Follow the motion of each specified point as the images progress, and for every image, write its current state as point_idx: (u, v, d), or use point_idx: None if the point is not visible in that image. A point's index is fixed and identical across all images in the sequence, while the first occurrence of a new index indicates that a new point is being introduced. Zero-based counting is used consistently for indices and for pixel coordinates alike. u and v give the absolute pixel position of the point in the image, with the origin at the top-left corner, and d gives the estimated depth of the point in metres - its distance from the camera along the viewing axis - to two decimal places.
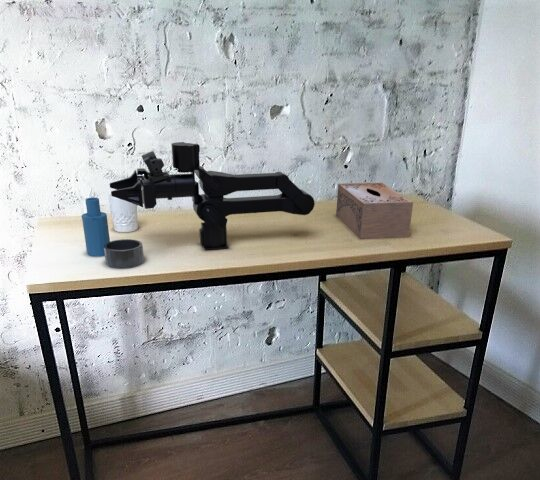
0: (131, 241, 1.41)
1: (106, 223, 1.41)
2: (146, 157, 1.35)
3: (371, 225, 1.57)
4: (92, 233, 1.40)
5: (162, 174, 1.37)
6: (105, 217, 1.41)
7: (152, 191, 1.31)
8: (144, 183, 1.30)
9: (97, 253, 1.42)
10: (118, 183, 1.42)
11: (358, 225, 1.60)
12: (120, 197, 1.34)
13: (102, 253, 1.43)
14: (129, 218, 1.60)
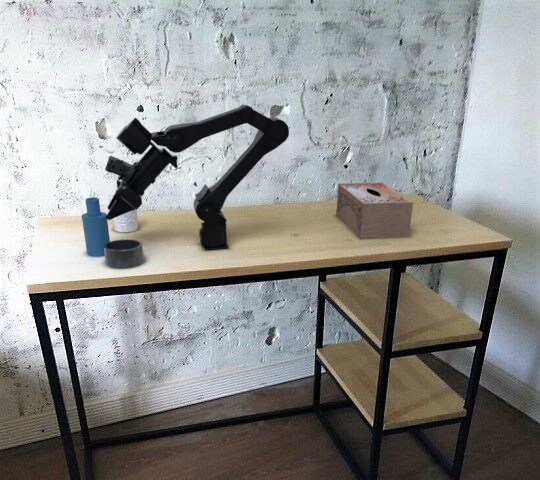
0: (131, 241, 1.41)
1: (106, 223, 1.41)
2: (107, 167, 1.35)
3: (371, 225, 1.57)
4: (92, 233, 1.40)
5: (130, 168, 1.36)
6: (105, 217, 1.41)
7: (128, 192, 1.31)
8: (118, 191, 1.31)
9: (97, 253, 1.42)
10: (112, 202, 1.45)
11: (358, 225, 1.60)
12: (116, 215, 1.37)
13: (102, 253, 1.43)
14: (129, 218, 1.60)
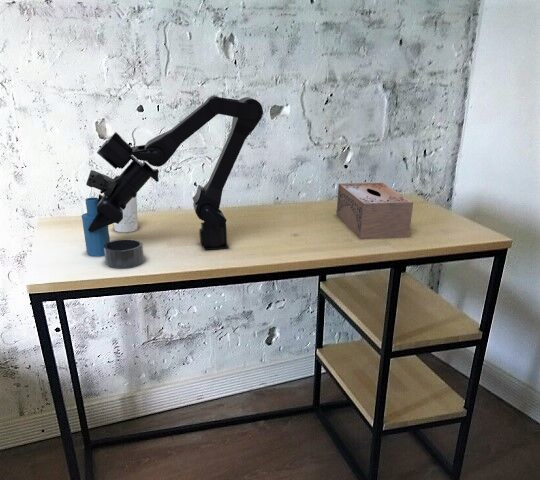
0: (131, 241, 1.41)
1: None
2: (88, 181, 1.35)
3: (371, 225, 1.57)
4: (92, 233, 1.40)
5: (111, 182, 1.36)
6: None
7: (109, 207, 1.32)
8: (98, 206, 1.32)
9: (97, 253, 1.42)
10: None
11: (358, 225, 1.60)
12: (97, 228, 1.39)
13: (102, 253, 1.43)
14: (129, 218, 1.60)
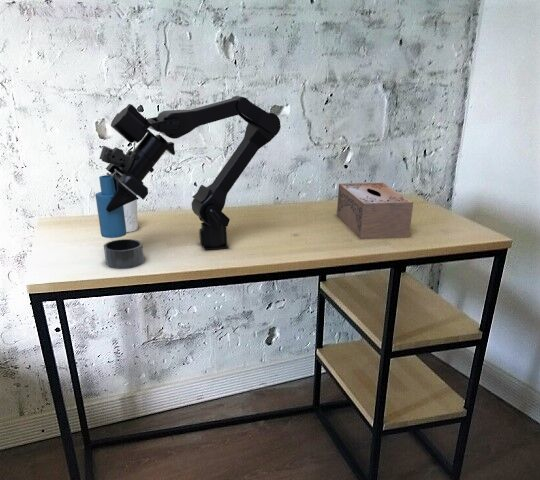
0: (131, 241, 1.41)
1: None
2: (104, 157, 1.28)
3: (372, 225, 1.57)
4: (110, 213, 1.32)
5: (128, 157, 1.30)
6: None
7: (135, 181, 1.26)
8: (123, 182, 1.25)
9: (115, 234, 1.35)
10: None
11: (358, 225, 1.60)
12: (117, 207, 1.32)
13: (120, 234, 1.36)
14: (129, 218, 1.60)
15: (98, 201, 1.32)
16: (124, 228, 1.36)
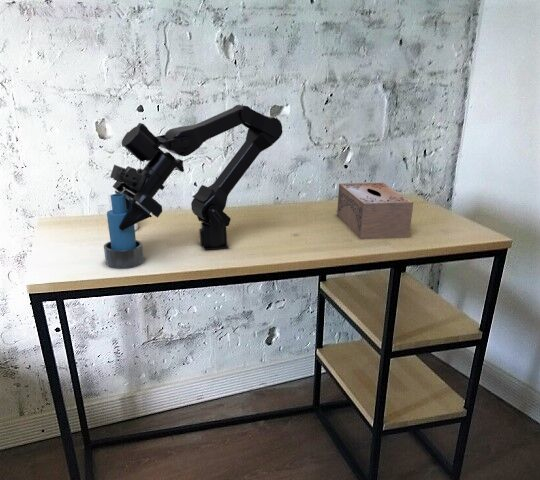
0: None
1: None
2: (117, 176, 1.28)
3: (372, 225, 1.57)
4: (122, 231, 1.33)
5: (140, 176, 1.31)
6: None
7: (150, 200, 1.27)
8: (139, 200, 1.26)
9: None
10: None
11: (358, 225, 1.60)
12: (129, 225, 1.32)
13: None
14: None
15: (110, 220, 1.32)
16: (135, 245, 1.37)
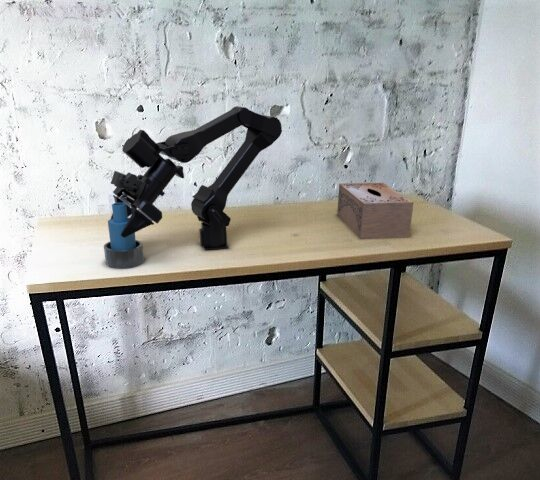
0: None
1: None
2: (117, 182, 1.29)
3: (372, 225, 1.57)
4: (123, 240, 1.34)
5: (140, 182, 1.31)
6: None
7: (150, 206, 1.27)
8: (139, 207, 1.26)
9: None
10: None
11: (358, 225, 1.60)
12: (131, 232, 1.32)
13: None
14: None
15: (111, 228, 1.33)
16: None
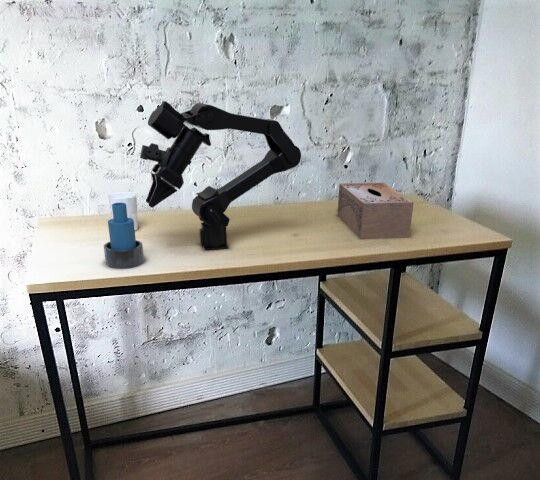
0: None
1: None
2: (142, 154, 1.33)
3: (372, 225, 1.57)
4: (123, 240, 1.34)
5: (165, 152, 1.34)
6: (133, 222, 1.35)
7: (169, 172, 1.29)
8: (158, 173, 1.29)
9: None
10: (150, 194, 1.42)
11: (358, 225, 1.60)
12: (158, 201, 1.34)
13: None
14: None
15: (111, 228, 1.33)
16: None
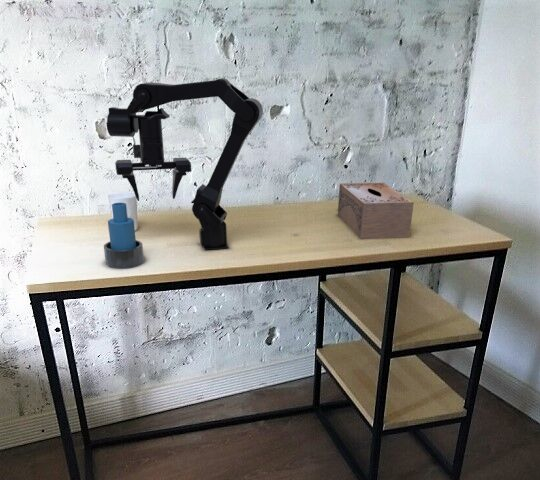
0: None
1: None
2: None
3: (372, 225, 1.57)
4: (123, 240, 1.34)
5: None
6: (133, 222, 1.35)
7: (115, 163, 1.42)
8: None
9: None
10: (172, 190, 1.48)
11: (358, 225, 1.60)
12: (135, 193, 1.44)
13: None
14: None
15: (111, 228, 1.33)
16: None
